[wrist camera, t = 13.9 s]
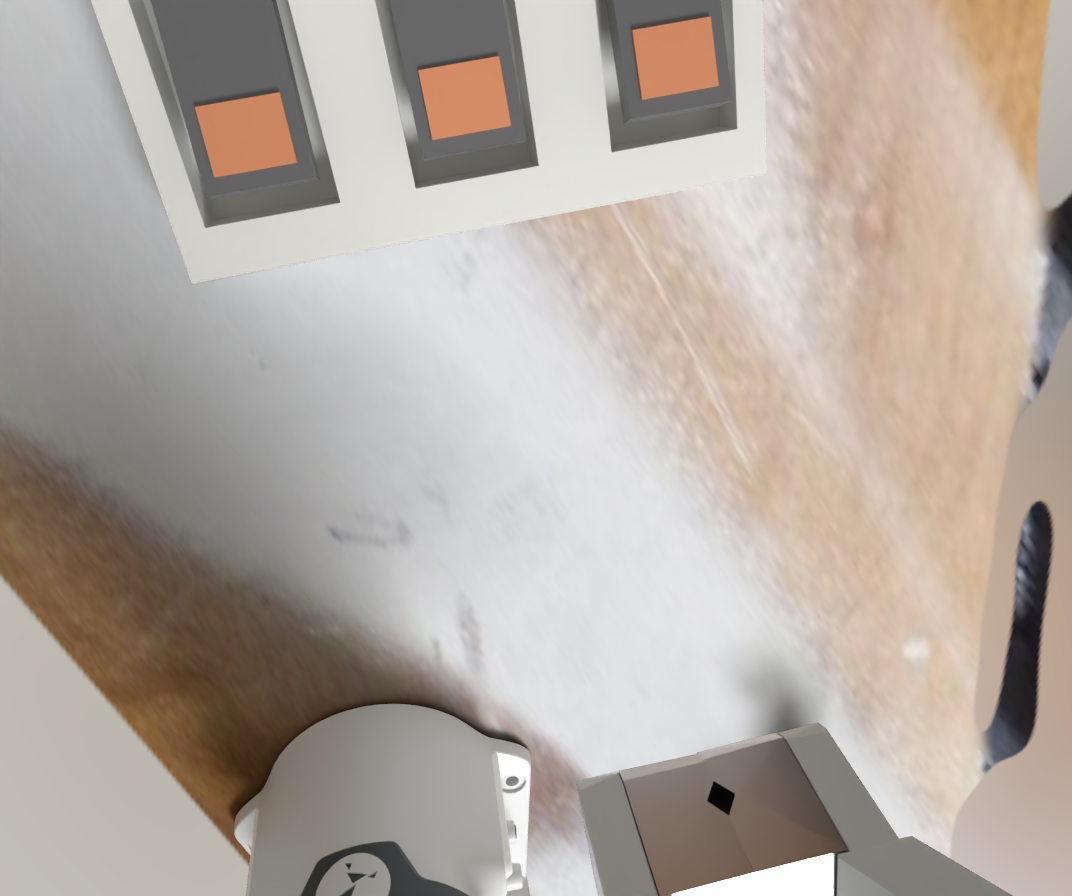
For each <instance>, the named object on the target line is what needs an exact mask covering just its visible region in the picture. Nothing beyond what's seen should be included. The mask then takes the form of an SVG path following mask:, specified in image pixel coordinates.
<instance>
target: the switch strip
mask: <svg viewBox="0 0 1072 896" xmlns="http://www.w3.org/2000/svg"><path fill="white" fill-rule="evenodd" d="M276 2H277V6H278V10H279V14H280V18H281V22H282V26H283V31H284V35H285V39H286V43H287V47H288V51H289V55H290V59H291V63H292V67H293V72H294V76H295V80H296V84H297V88H298V92H299V96H300V100H301V104H302V108H303V113H304V117H305V121H306V125H307V129H308V133H309V137H310V141H311V145H312V150H313V154H314V158H315V162H316V166H317V170H318V174H319V178H320V180H318V181H312V182H307V183H301V184H296V185H291V186H285V187H280V188H274V189H269V190H263V191H258V192H252V193H247V194H241V195H236V196H231V197H225V198H220V199H211V198H207V197H206V195H205V192H204V188H203V185H202V181H201V177H200V174H199V170H198V167H197V163H196V160H195V156H194V152H193V149H192V145H191V142H190V138H189V135H188V131H187V128H186V124H185V120H184V117H183V113H182V110H181V106H180V103H179V99H178V96H177V92H176V88H175V85H174V81H173V78H172V74H171V71H170V67H169V64H168V60H167V56H166V53H165V49H164V46H163V42H162V39H161V35H160V31H159V28H158V24H157V21H156V17H155V14H154V10H153V7H152V3H151V0H91V3H92V5H93V8H94V11H95V14H96V17H97V19H98V22H99V25H100V28H101V31H102V34H103V36H104V39H105V42H106V45H107V48H108V50H109V53H110V56H111V59H112V62H113V64H114V67H115V70H116V73H117V76H118V78H119V81H120V84H121V87H122V90H123V92H124V95H125V98H126V101H127V104H128V106H129V109H130V112H131V115H132V118H133V120H134V123H135V126H136V129H137V132H138V134H139V137H140V140H141V143H142V146H143V149H144V151H145V154H146V157H147V160H148V163H149V165H150V168H151V171H152V174H153V177H154V179H155V182H156V185H157V188H158V191H159V193H160V196H161V199H162V202H163V205H164V207H165V210H166V213H167V216H168V219H169V221H170V224H171V227H172V230H173V233H174V235H175V238H176V241H177V244H178V247H179V249H180V252H181V255H182V258H183V261H184V264H185V266H186V269H187V272H188V275H189V278H190V280H191V283H192V284H195V283H200V282H205V281H211V280H216V279H221V278H226V277H232V276H237V275H242V274H247V273H253V272H258V271H263V270H268V269H274V268H279V267H284V266H289V265H294V264H300V263H305V262H310V261H315V260H321V259H326V258H331V257H336V256H342V255H347V254H352V253H357V252H363V251H368V250H373V249H378V248H384V247H389V246H394V245H399V244H405V243H410V242H415V241H420V240H426V239H431V238H436V237H441V236H447V235H452V234H457V233H462V232H468V231H473V230H478V229H483V228H489V227H494V226H499V225H504V224H510V223H515V222H520V221H525V220H531V219H536V218H541V217H546V216H552V215H557V214H562V213H567V212H573V211H578V210H583V209H588V208H594V207H599V206H604V205H609V204H615V203H620V202H625V201H630V200H636V199H641V198H646V197H651V196H656V195H662V194H667V193H672V192H677V191H683V190H688V189H693V188H698V187H704V186H709V185H714V184H719V183H725V182H730V181H735V180H740V179H746V178H751V177H756V176H761V175H767V163H766V122H765V81H764V40H763V0H721V7H722V15H723V24H724V33H725V42H726V50H727V59H728V68H729V77H730V85H731V94H732V101H731V102H729V103H727V104H725V105H723V106H721V107H716V108H710V109H705V110H699V111H694V112H688V113H683V114H677V115H672V116H667V117H661V118H656V119H650V120H645V121H639V122H634V123H628V124H624V123H623V116H622V109H621V102H620V96H619V89H618V82H617V75H616V68H615V62H614V55H613V48H612V41H611V35H610V28H609V21H608V14H607V8H606V1H605V0H503V4H504V10H505V15H506V21H507V27H508V33H509V39H510V45H511V51H512V57H513V63H514V69H515V75H516V81H517V87H518V92H519V98H520V104H521V110H522V116H523V122H524V128H525V134H526V141H525V142H523V143H518V144H513V145H507V146H502V147H496V148H491V149H485V150H480V151H474V152H469V153H464V154H458V155H453V156H447V157H442V158H436V159H431V160H425V161H423V159H422V154H421V150H420V145H419V140H418V135H417V131H416V126H415V121H414V116H413V111H412V107H411V102H410V97H409V92H408V88H407V83H406V78H405V73H404V69H403V64H402V59H401V54H400V49H399V45H398V40H397V35H396V30H395V26H394V21H393V16H392V11H391V7H390V2H389V0H276Z"/></svg>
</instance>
